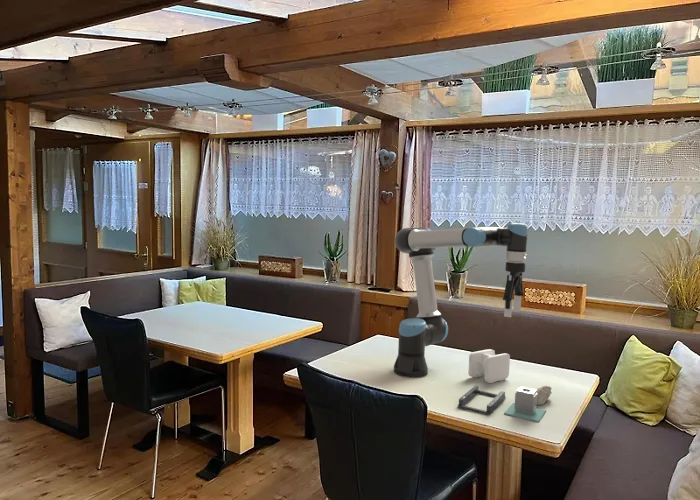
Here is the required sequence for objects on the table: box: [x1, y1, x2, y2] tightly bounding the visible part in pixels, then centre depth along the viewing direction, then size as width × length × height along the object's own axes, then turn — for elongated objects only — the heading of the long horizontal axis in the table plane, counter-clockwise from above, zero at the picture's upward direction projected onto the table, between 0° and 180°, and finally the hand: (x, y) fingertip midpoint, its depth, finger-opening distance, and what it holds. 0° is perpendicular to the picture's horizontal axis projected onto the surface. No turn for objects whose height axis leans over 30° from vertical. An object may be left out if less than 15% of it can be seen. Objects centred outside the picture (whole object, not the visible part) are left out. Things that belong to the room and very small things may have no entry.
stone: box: [535, 385, 553, 406], centre depth 205 cm, size 8×12×10 cm, turn 130°
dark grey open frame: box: [457, 385, 507, 416], centre depth 201 cm, size 12×20×3 cm, turn 148°
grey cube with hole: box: [514, 385, 538, 416], centre depth 192 cm, size 7×6×8 cm
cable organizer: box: [468, 348, 511, 384], centre depth 229 cm, size 15×11×12 cm
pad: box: [503, 402, 547, 423], centre depth 192 cm, size 12×12×1 cm
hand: (512, 314), depth 213 cm, fingers open, 13 cm apart
